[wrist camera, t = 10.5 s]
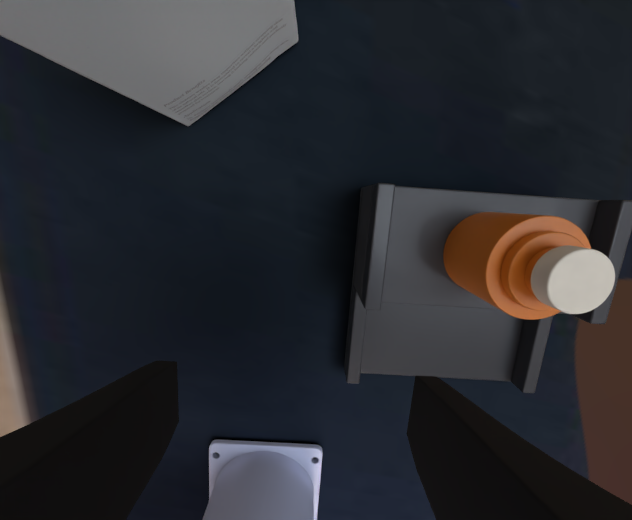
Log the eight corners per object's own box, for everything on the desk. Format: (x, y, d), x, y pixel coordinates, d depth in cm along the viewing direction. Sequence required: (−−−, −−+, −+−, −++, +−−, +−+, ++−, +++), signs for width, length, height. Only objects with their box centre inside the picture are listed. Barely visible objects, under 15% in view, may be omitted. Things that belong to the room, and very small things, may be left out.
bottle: (514, 293, 15) (626, 344, 10) (437, 288, 15) (506, 337, 10) (531, 214, 15) (662, 222, 9) (449, 209, 14) (532, 214, 9)
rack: (516, 377, 20) (576, 430, 16) (343, 367, 20) (353, 418, 15) (555, 201, 18) (640, 201, 13) (360, 187, 18) (378, 182, 13)
